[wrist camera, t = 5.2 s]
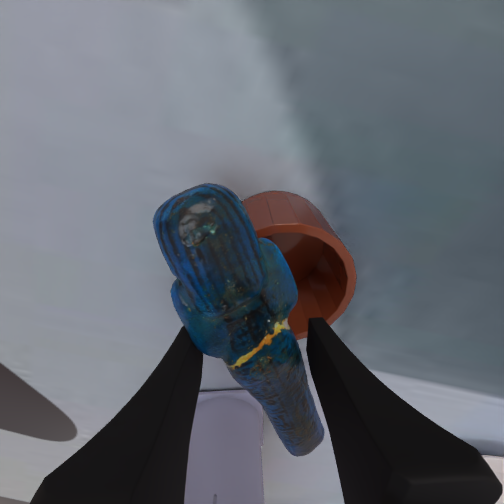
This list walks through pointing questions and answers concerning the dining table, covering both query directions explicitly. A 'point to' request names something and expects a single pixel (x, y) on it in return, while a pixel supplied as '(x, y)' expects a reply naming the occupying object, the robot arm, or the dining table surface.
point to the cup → (306, 255)
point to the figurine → (239, 304)
